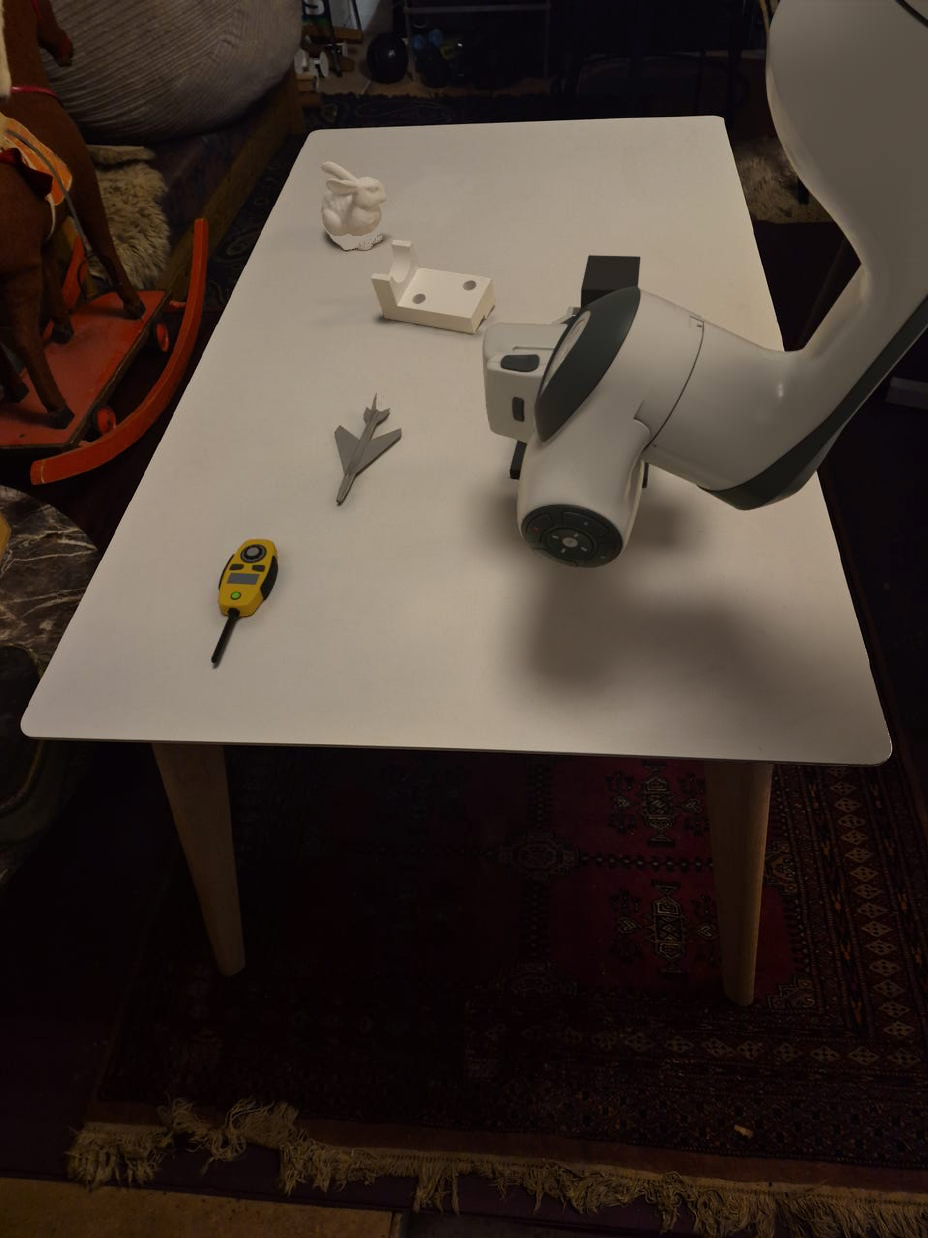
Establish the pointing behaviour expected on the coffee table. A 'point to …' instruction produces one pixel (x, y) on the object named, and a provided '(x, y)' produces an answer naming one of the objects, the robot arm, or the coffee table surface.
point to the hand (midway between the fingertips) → (608, 315)
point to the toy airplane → (361, 446)
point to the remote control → (245, 583)
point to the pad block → (608, 276)
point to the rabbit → (351, 203)
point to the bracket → (432, 293)
